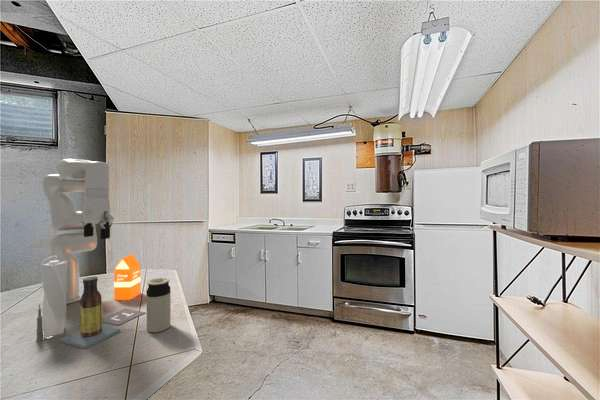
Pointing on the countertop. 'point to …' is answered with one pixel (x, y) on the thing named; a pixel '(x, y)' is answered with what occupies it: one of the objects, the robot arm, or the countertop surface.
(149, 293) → the travel mug
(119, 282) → the orange juice
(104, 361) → the countertop surface
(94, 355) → the countertop surface
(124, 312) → the tile
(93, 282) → the sauce bottle
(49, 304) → the skyscraper
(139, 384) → the countertop surface
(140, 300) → the countertop surface
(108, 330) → the pad
